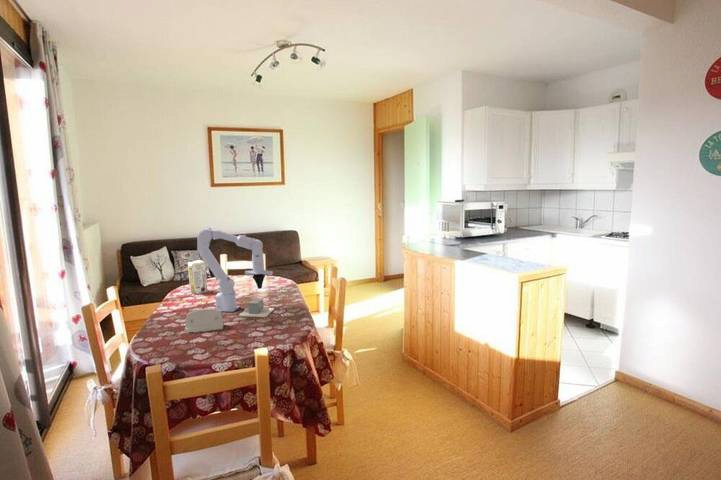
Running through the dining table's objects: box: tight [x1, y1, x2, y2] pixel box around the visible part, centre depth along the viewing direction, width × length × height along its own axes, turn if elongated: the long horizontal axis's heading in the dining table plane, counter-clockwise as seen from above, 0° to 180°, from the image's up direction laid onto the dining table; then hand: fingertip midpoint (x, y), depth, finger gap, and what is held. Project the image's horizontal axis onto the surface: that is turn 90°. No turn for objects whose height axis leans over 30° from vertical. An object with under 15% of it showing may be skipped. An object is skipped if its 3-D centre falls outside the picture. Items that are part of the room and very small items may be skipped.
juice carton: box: [187, 259, 208, 295], centre depth 244 cm, size 8×9×19 cm
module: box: [247, 298, 265, 314], centre depth 205 cm, size 5×7×6 cm
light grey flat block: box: [184, 308, 225, 334], centre depth 187 cm, size 17×5×10 cm, turn 105°
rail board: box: [238, 307, 275, 318], centre depth 206 cm, size 14×11×2 cm
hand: (259, 288), depth 214 cm, fingers closed
